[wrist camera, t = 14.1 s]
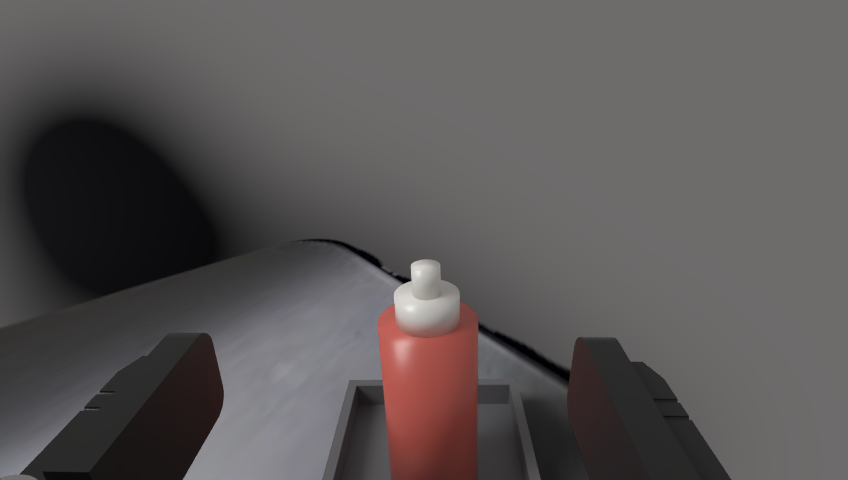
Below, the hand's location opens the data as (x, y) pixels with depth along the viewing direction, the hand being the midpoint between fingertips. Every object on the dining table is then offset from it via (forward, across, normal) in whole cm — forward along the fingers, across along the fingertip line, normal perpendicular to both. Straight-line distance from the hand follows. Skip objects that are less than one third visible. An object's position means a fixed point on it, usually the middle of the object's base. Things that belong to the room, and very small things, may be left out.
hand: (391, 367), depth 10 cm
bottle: (+11, -1, +17) cm, 20 cm away
